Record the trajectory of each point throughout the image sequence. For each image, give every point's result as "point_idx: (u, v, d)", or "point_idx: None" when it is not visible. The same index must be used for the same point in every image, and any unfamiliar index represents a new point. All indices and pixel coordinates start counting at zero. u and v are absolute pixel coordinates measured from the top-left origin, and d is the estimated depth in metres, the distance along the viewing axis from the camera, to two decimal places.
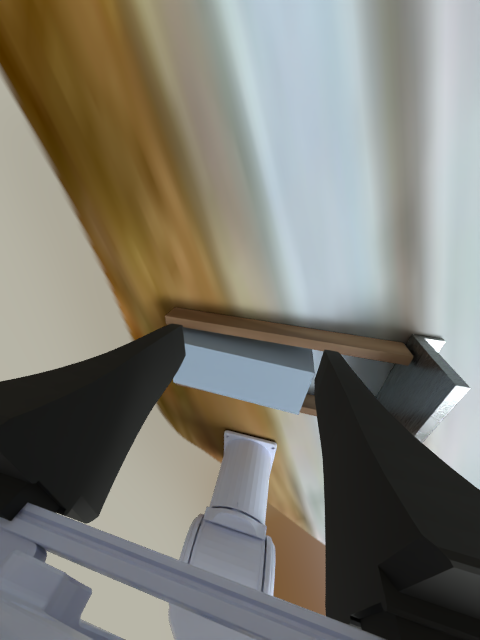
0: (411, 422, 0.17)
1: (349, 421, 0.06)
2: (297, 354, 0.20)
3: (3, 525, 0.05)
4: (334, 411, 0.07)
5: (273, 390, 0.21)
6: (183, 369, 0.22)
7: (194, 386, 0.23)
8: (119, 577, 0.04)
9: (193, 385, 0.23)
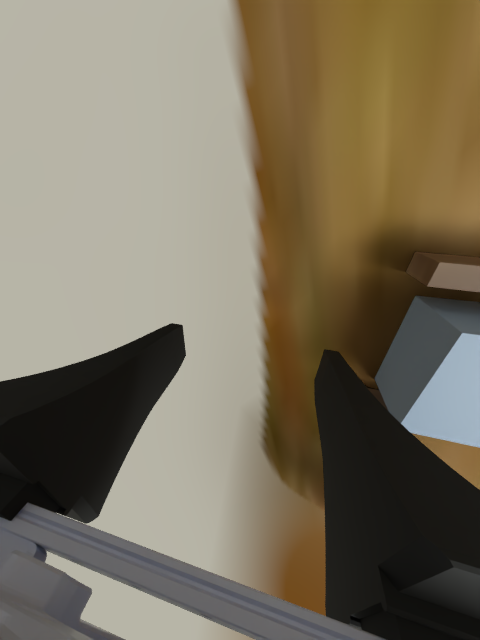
0: None
1: (349, 421, 0.06)
2: None
3: (3, 525, 0.05)
4: (334, 411, 0.07)
5: None
6: (450, 405, 0.09)
7: (456, 439, 0.10)
8: (119, 577, 0.04)
9: (452, 437, 0.10)
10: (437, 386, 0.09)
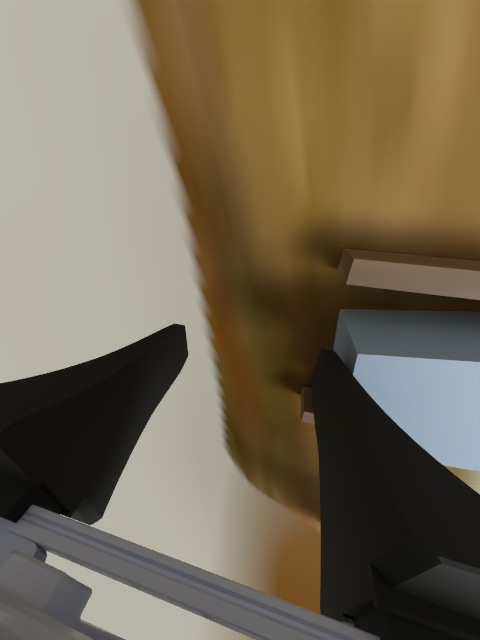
0: None
1: (344, 420, 0.06)
2: None
3: (3, 525, 0.05)
4: (330, 410, 0.07)
5: None
6: None
7: None
8: (119, 577, 0.04)
9: None
10: None
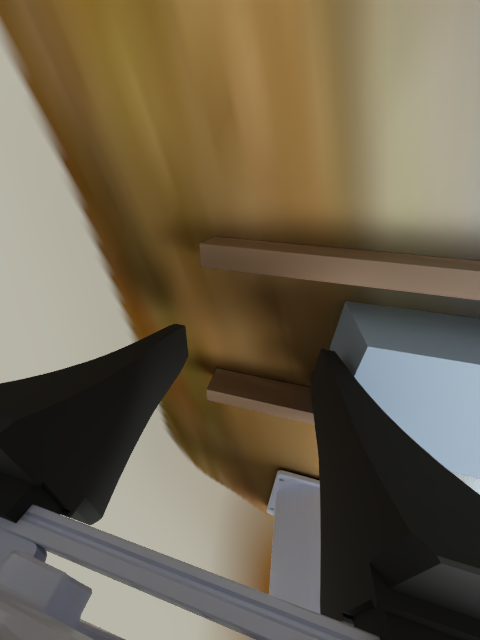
0: None
1: (344, 420, 0.06)
2: None
3: (3, 525, 0.05)
4: (330, 410, 0.07)
5: None
6: None
7: None
8: (119, 577, 0.04)
9: None
10: None
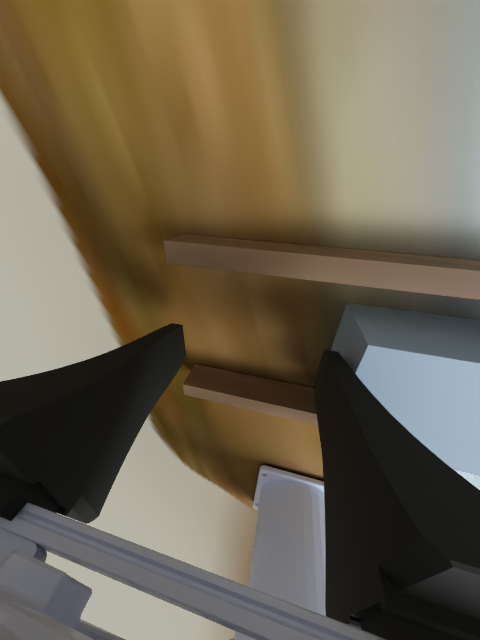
0: None
1: (349, 421, 0.06)
2: None
3: (3, 525, 0.05)
4: (334, 411, 0.07)
5: None
6: None
7: None
8: (119, 577, 0.04)
9: None
10: None
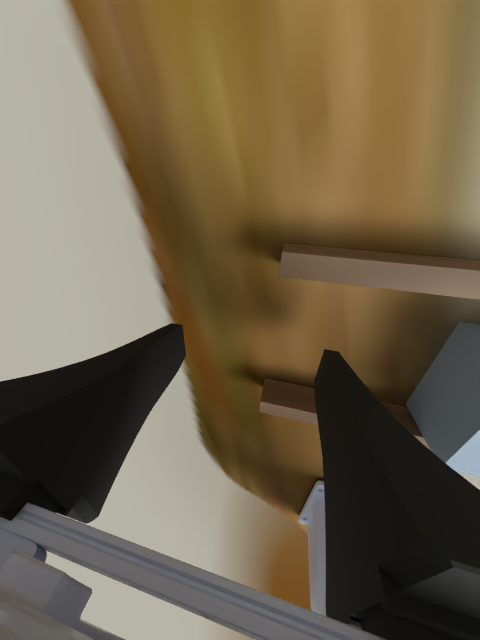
0: None
1: (349, 421, 0.06)
2: None
3: (3, 525, 0.05)
4: (334, 411, 0.07)
5: None
6: None
7: None
8: (119, 577, 0.04)
9: None
10: None
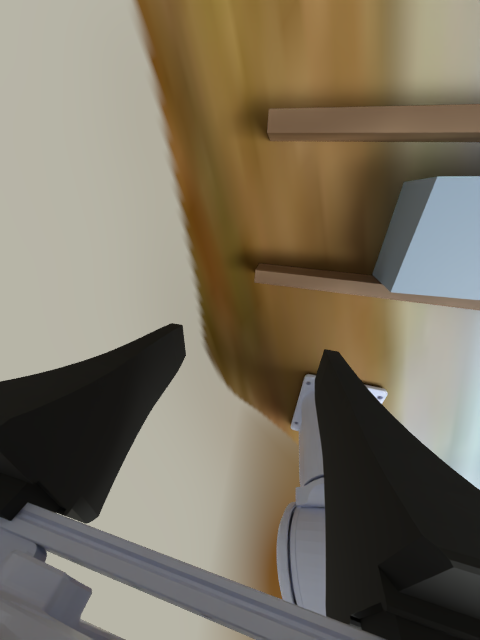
0: None
1: (349, 421, 0.06)
2: None
3: (3, 525, 0.05)
4: (334, 411, 0.07)
5: None
6: (432, 255, 0.12)
7: (439, 293, 0.12)
8: (119, 577, 0.04)
9: (436, 291, 0.12)
10: (421, 236, 0.11)
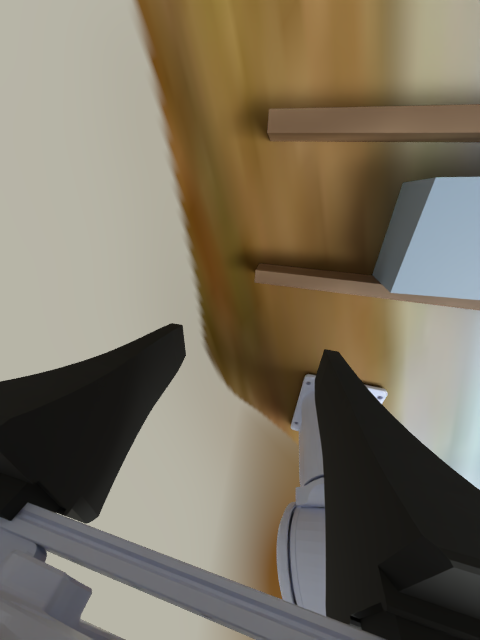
0: None
1: (349, 421, 0.06)
2: None
3: (3, 525, 0.05)
4: (334, 411, 0.07)
5: None
6: (431, 255, 0.12)
7: (438, 293, 0.12)
8: (119, 577, 0.04)
9: (435, 291, 0.12)
10: (420, 237, 0.11)
